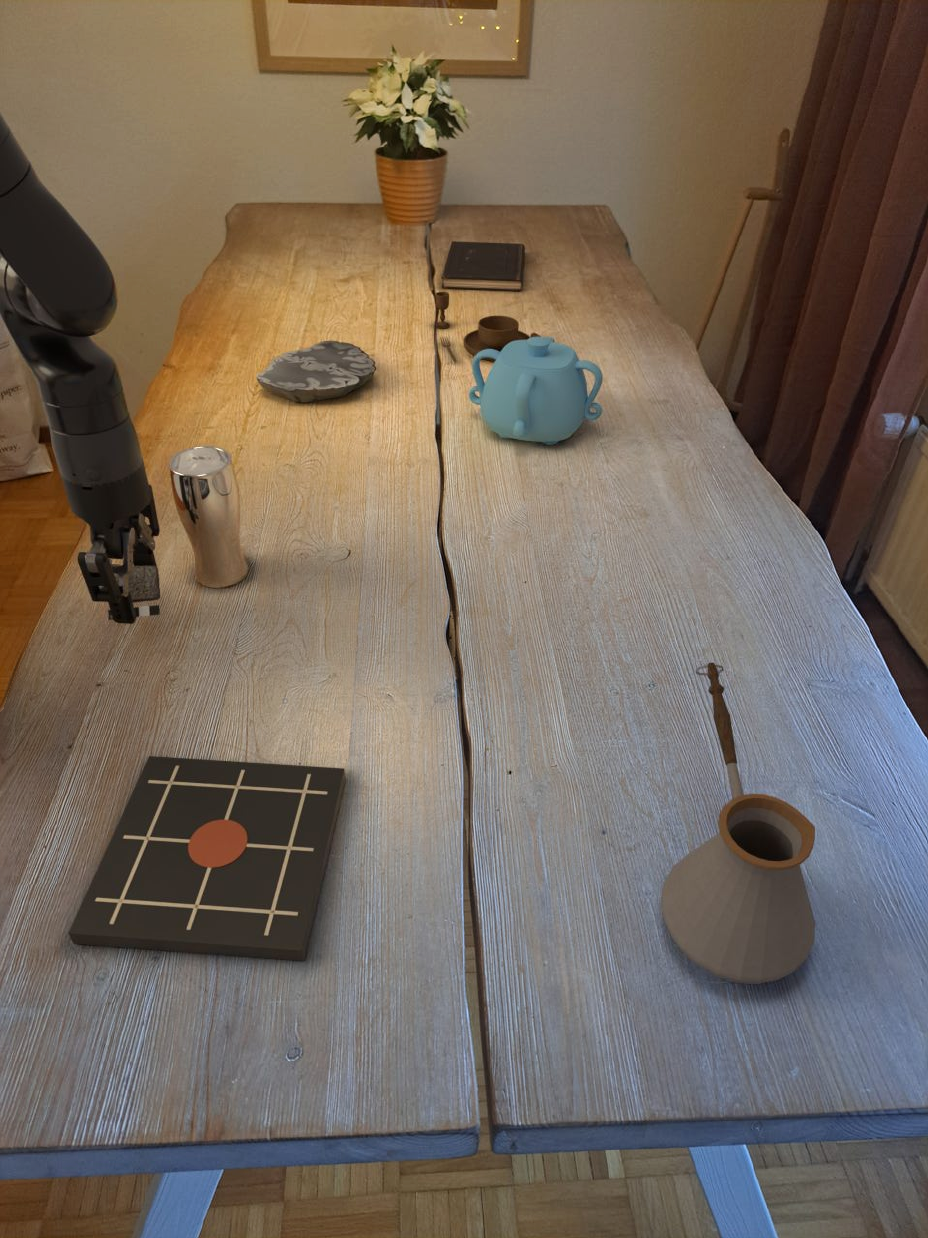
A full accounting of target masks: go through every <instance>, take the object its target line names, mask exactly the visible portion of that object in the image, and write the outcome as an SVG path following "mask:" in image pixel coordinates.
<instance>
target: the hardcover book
mask: <svg viewBox="0 0 928 1238" xmlns="http://www.w3.org/2000/svg"><path fill="white" fill-rule="evenodd" d="M525 252H526V246H525V244H524V243H513V242H512V243H511V242H485V241H484V242H483V241H460V240H459V241H458V240H457V241H456V240H452V241H451V242H450V247H449V249H448V253H447V257H446V259H445V260H446V261H445V264H444V268H443V271H442V275H441V279H442V285H441V289H442V290H443V289H444V290H445V289H446V290H472V291H496V292H498V291H499V292H520V291H522V289H523V279H524V266H525Z"/></svg>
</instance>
